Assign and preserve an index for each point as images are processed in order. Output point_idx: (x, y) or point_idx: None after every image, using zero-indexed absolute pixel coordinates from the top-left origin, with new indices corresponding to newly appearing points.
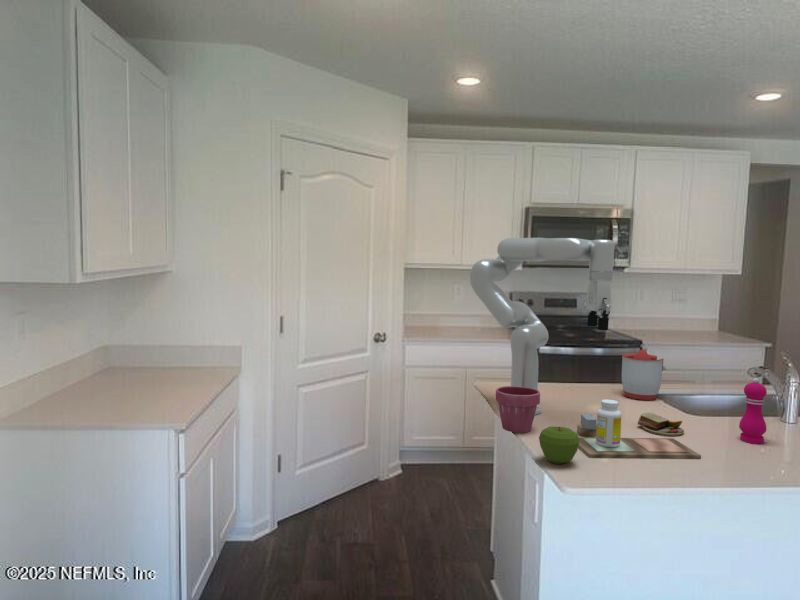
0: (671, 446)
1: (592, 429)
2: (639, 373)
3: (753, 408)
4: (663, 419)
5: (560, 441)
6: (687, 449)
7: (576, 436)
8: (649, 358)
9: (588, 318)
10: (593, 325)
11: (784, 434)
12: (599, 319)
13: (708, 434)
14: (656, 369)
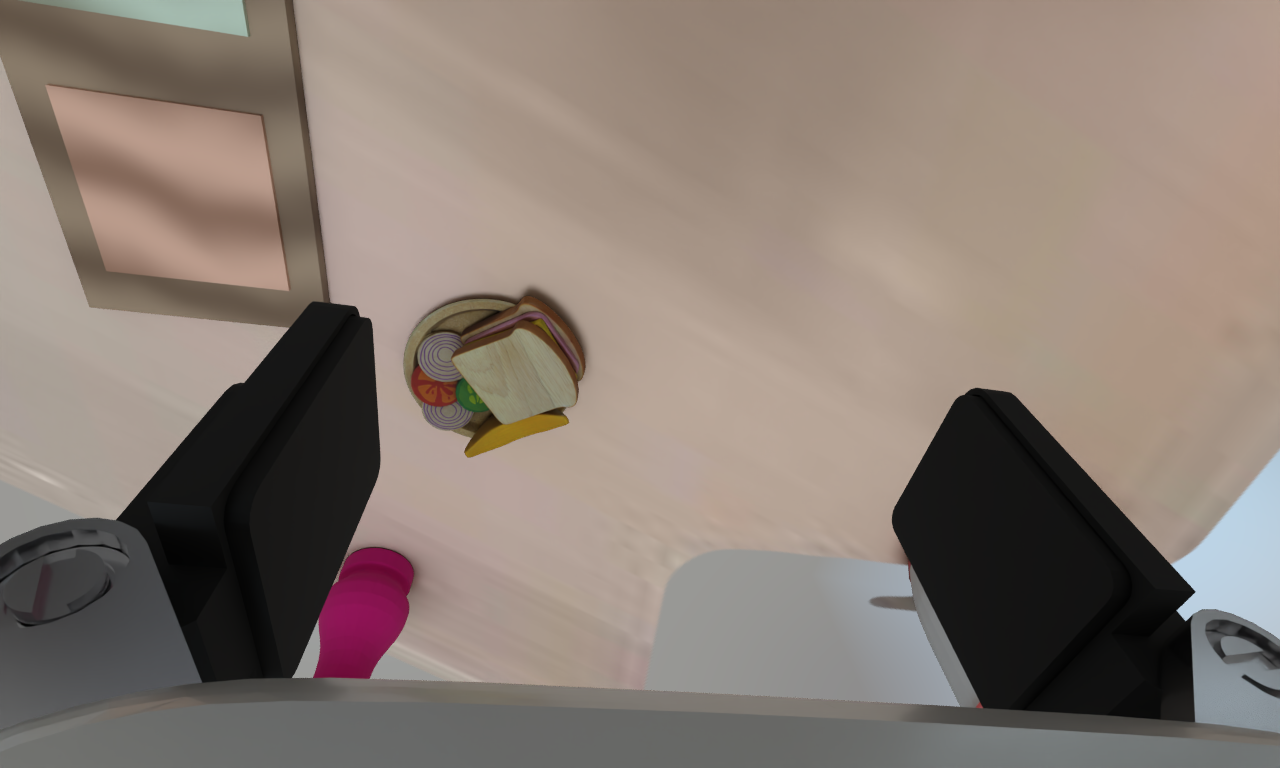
0: (173, 248)
1: None
2: None
3: (318, 667)
4: (500, 404)
5: None
6: (164, 299)
7: None
8: None
9: (1070, 502)
10: (921, 479)
11: (458, 670)
12: (184, 472)
13: (447, 495)
14: (950, 676)
